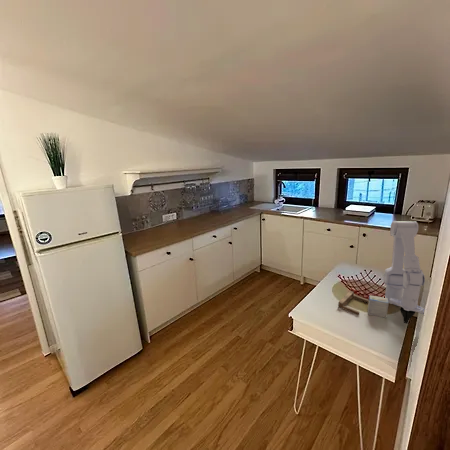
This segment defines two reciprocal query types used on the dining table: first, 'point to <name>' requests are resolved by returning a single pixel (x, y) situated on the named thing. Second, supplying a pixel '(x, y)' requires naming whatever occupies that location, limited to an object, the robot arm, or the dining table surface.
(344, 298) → the end stop
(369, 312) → the medicine box
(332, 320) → the dining table surface
